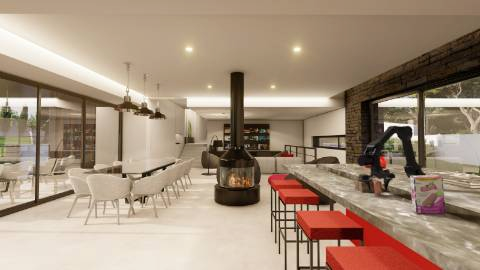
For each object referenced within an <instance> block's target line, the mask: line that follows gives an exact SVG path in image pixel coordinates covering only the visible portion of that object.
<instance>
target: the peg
mask: <svg viewBox="0 0 480 270" xmlns="http://www.w3.org/2000/svg"><path fill="white" fill-rule="evenodd" d="M374 188H375V192H374V196H381V195H382V191H381V187H380V180H378V181H374Z"/></svg>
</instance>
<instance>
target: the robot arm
mask: <svg viewBox="0 0 480 270" xmlns="http://www.w3.org/2000/svg"><path fill="white" fill-rule="evenodd" d="M395 134H396V136H397V138H399V140H400V141H401V146H402V148H403V153H404V156H405V162H406V164H405V165H404V166H403V169H404V173H405V175H406V177H407V178H408V179H410V176H424V175H427V174H426V173H424V171H423V170H422V167H421V165H419V163H418V162H417V160H416V156H415V151H414V147H413V143H412V139H413V135H414V134H413V128H412V126H410V125H403V126H400V125H389V126H388V127H387V129H385V131H383V132H382V134H380V136H379V137H378V138H377V139H375V140H373V141H371V142H369V143H368V144H367V145H366V148H365V151H364V152H363V154H359V156H358V157H357V160H356V161H357V165H359V166H360V167H366V166H369V169H370V172H369V174H367V173H361V174H358V180H359V179H361V180H362V181H364V183H365V184H366V186H367V188H368V190H369V191H371V189H370V180H369V179H377V180H380V179H381V180H382V179H383V187H384V190H385V191H387V190H388V187H389V185H390V182H391V181H393V179H396V174H395V173H394V172H390V170H389V169H383V166H382V161H381V157H383V156H384V154H382V153H381V152H382V151H383V149H384V146H385V144H386V143H387V142H388V141H389V140H390V139H391V138H392V137H393V136H394V135H395Z"/></svg>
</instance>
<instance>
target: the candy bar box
mask: <svg viewBox="0 0 480 270" xmlns="http://www.w3.org/2000/svg"><path fill="white" fill-rule="evenodd" d="M443 180H444V179H443V176H441V175H438V174H436V175H435V174H434V175H433V174H432V175H427V174H426V175H424V176H410V178H409V181H410V191H411V205H412V207H411V208H412V211H413V212H414V213H415V214H417V215H446V206H445V205H446V204H445V203H446V202H445V194H444V181H443Z"/></svg>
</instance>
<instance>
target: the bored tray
mask: <svg viewBox="0 0 480 270" xmlns="http://www.w3.org/2000/svg"><path fill="white" fill-rule="evenodd" d="M369 180H370V189H371V191H369V190H368V188H367V186H366V184H365V183H364V181H362V180H361V179H359V178H358V179H354V180H353V181H354V189H355V190H357V191H359V192H360V193H375V188H374V181H380V180H379V179H376V178H369ZM380 187H381V192H383V186H382V181H380Z"/></svg>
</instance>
